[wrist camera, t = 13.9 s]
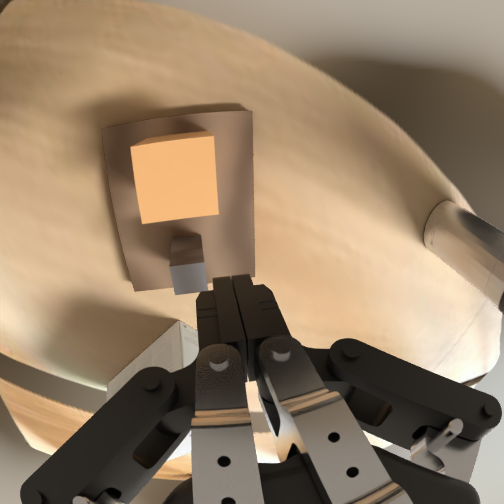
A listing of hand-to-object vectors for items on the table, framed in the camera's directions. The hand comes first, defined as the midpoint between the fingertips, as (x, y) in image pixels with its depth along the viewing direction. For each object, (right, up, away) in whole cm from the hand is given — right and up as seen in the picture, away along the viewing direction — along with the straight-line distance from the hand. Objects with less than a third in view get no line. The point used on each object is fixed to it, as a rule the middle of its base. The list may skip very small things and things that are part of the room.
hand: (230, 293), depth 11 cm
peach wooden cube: (-6, +10, +12) cm, 17 cm away
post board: (-6, +7, +16) cm, 18 cm away
